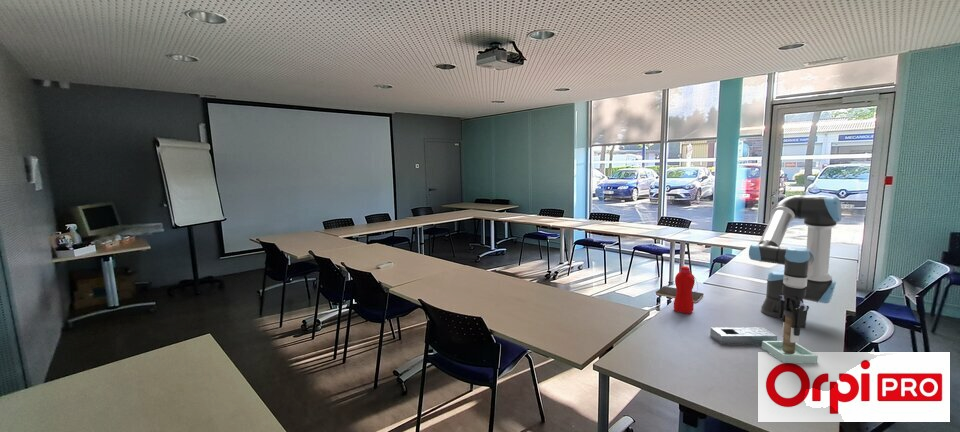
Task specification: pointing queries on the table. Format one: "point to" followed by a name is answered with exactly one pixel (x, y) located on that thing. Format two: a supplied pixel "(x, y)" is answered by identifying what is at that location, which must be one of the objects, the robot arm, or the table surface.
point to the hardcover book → (673, 291)
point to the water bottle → (684, 291)
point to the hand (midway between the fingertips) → (789, 339)
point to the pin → (788, 333)
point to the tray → (798, 357)
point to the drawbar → (742, 335)
